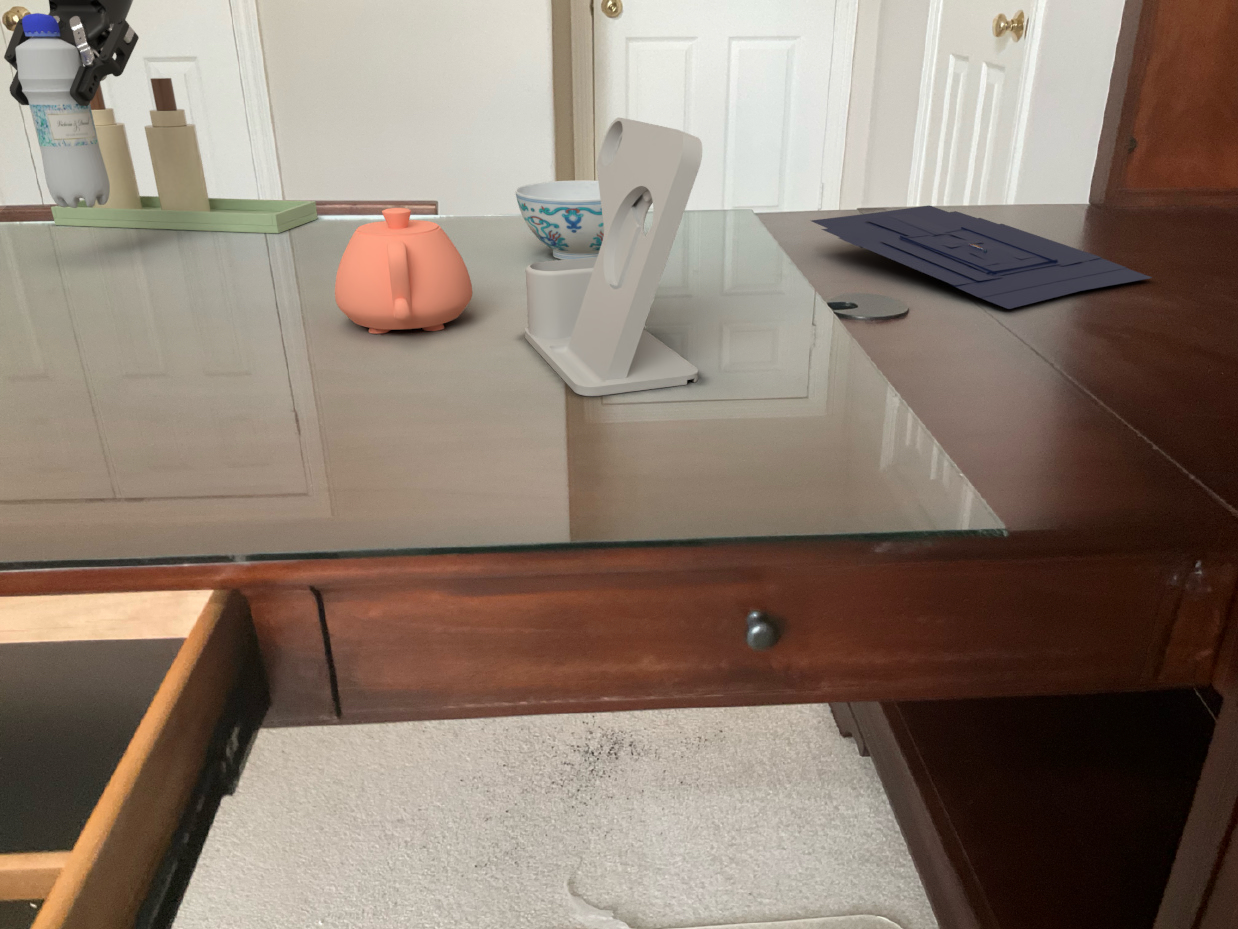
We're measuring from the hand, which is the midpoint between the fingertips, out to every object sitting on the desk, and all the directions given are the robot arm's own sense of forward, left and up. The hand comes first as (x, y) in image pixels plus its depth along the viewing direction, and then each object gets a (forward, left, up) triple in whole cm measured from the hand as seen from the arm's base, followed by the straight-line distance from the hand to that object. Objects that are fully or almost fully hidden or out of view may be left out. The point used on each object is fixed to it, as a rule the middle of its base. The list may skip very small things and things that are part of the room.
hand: (48, 99), depth 101 cm
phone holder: (+69, +13, -18) cm, 73 cm away
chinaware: (+41, +40, -18) cm, 61 cm away
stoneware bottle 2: (-17, +20, -17) cm, 31 cm away
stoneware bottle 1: (-26, +15, -17) cm, 35 cm away
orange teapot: (+49, +8, -18) cm, 53 cm away
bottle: (-1, +1, -12) cm, 12 cm away
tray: (-17, +20, -18) cm, 32 cm away
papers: (+79, +63, -18) cm, 103 cm away
